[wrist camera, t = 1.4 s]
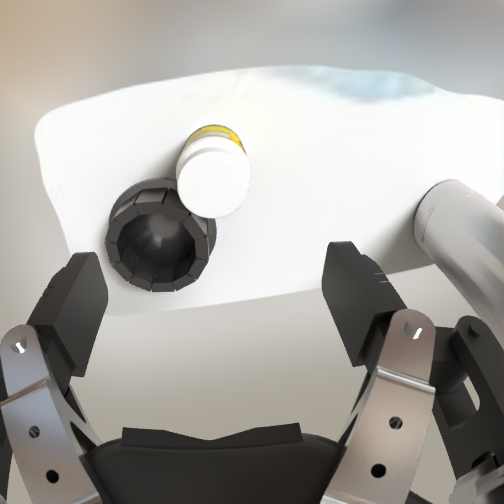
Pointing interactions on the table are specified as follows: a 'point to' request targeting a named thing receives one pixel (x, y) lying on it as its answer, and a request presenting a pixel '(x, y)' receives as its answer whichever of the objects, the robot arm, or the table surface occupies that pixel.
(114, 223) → the barrel ring
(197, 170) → the supplement bottle
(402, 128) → the table surface
